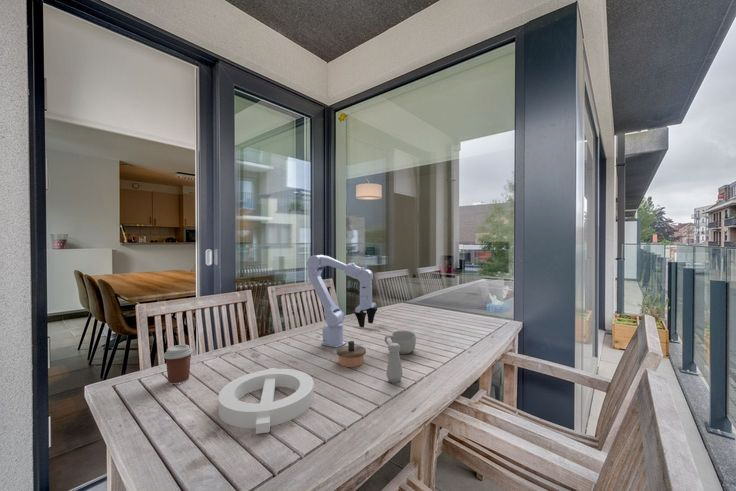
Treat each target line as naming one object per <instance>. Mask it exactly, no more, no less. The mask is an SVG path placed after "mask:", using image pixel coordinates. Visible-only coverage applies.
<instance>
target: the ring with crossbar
mask: <svg viewBox="0 0 736 491" xmlns="http://www.w3.org/2000/svg"><path fill="white" fill-rule="evenodd" d="M314 386H315V382H314V379H313V378H312V376H311V375H310V374H308V373H306V372H304V371H300V370H297V369H291V368H278V367H269V368H266V369H263V370H259V371H254V372H250V373H247V374H245V375H244V374H243V375H241V376H239V377H237V378H235V379H234V380H232V381H230V382H228V383H227V384H225V385H224V386H223V387H222V389H220V390H219V393H218V396H217V399H218V400H217V401H218V416H219V418H220V419H221V421H223V422H224V423H226V424H227V425H230V426H232V427H237V428H242V429H244V428H245V429H255V435H257V434H259V435H260V434H265V433H270V431H271V430H270V429H271V427H273V426H277V425H281V424H283V423H286V422H289V421H291V420H293V419H296V418H298V417H299V416H301V415H303V413H305V412H306V411H307V410H309V408H310V407H311V406H312V405H313V403H314V399H315V387H314ZM278 387H279V388H288V389H292V390H294V391H295V392H293V393H292V394H290V395H288V396H286V397H283V398H280V399H277V400H275V390H276V388H278ZM258 390H262V393H261V397H260V402H259V403H250V402H245V401H242V400H240V399H242V398H243V397H245V396H246V395H248V394H250V393H252V391H253V392H255V391H258ZM249 392H250V393H249ZM247 393H248V394H247ZM245 394H246V395H245Z"/></svg>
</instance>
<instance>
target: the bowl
mask: <svg viewBox="0 0 736 491" xmlns="http://www.w3.org/2000/svg"><path fill="white" fill-rule="evenodd" d="M338 364H339V365H340V366H343V367H345V368H353V367H354V368H355V367H359V366H362V365H363V364H364V355H363V356H360V357H355V358H346V357H341V356H339V355H338Z"/></svg>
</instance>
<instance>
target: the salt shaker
mask: <svg viewBox="0 0 736 491" xmlns="http://www.w3.org/2000/svg"><path fill="white" fill-rule="evenodd" d="M389 343H390V342H389ZM387 346H388V347H387V348H388V349H387V350H388V352H389V354H388V355H389V356H388V360H387V368H386V373H385V375H386V378H387V379H388V382H389V383H393V384H398V383H400V382H401V380H402V377H403V373H404V372H403V367H402V363H401V357H400V353H399V351H400V345H399V344H397V343H392V342H391V343H390V344H389V345H387Z"/></svg>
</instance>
